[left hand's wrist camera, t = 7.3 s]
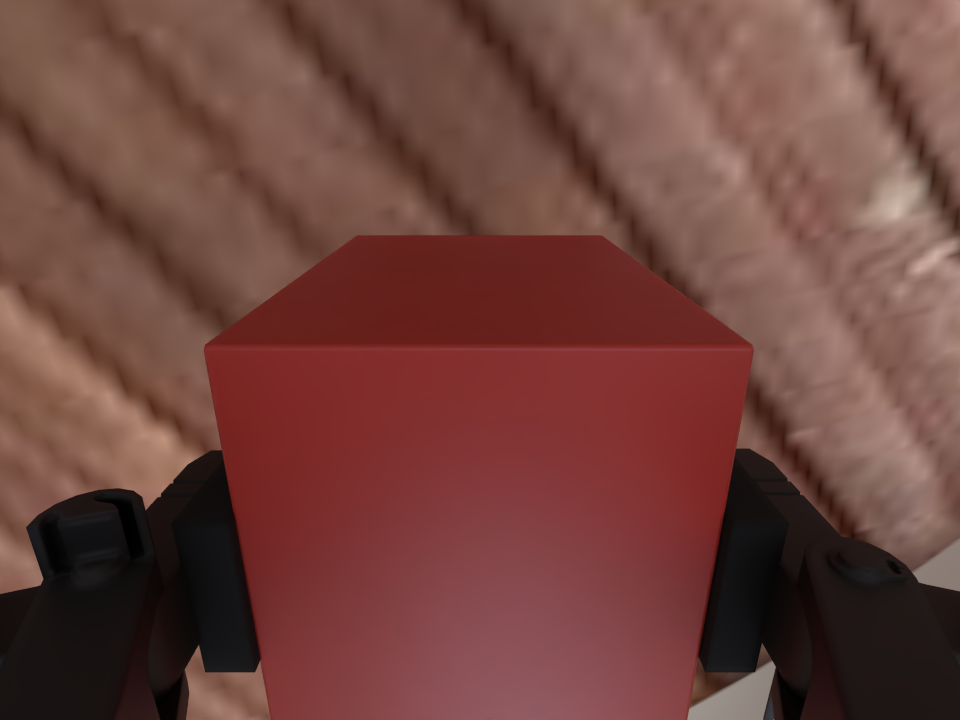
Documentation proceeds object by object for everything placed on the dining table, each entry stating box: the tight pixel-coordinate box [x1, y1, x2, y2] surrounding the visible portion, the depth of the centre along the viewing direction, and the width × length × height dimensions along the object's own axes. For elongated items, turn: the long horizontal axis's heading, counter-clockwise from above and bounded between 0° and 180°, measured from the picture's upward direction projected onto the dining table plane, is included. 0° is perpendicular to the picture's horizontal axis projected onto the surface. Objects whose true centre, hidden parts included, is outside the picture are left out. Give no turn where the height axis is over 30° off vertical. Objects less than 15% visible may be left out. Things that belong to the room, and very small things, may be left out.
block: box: [204, 236, 754, 720], centre depth 13 cm, size 7×8×9 cm
